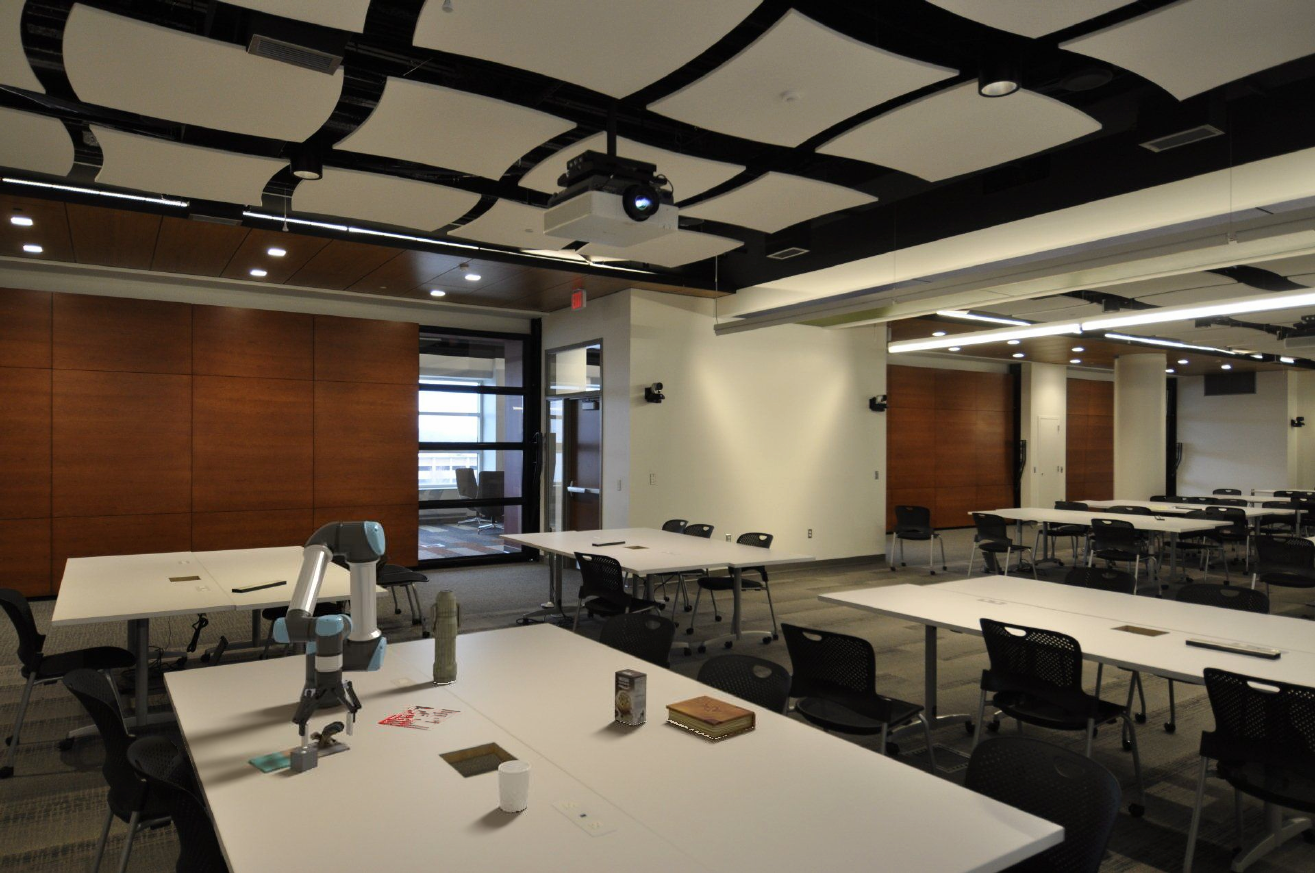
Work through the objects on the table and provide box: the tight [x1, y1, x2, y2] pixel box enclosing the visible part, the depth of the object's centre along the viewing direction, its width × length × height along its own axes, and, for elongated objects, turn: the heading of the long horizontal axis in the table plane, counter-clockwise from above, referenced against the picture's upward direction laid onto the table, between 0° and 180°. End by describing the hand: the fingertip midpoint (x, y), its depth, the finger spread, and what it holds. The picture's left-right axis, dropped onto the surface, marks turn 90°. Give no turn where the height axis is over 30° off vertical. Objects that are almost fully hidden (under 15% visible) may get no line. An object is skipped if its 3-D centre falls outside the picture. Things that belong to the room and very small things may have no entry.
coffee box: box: [614, 668, 648, 725], centre depth 261 cm, size 9×6×16 cm
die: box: [289, 746, 319, 773], centre depth 220 cm, size 5×5×5 cm
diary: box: [665, 695, 757, 740], centre depth 259 cm, size 23×19×6 cm
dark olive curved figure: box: [309, 721, 346, 750], centre depth 236 cm, size 8×7×9 cm
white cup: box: [497, 759, 531, 813], centre depth 197 cm, size 8×8×10 cm
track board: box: [248, 739, 351, 773], centre depth 230 cm, size 24×12×1 cm, turn 138°
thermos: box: [429, 589, 462, 683], centre depth 307 cm, size 9×12×35 cm
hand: (327, 740), depth 236 cm, fingers open, 13 cm apart
